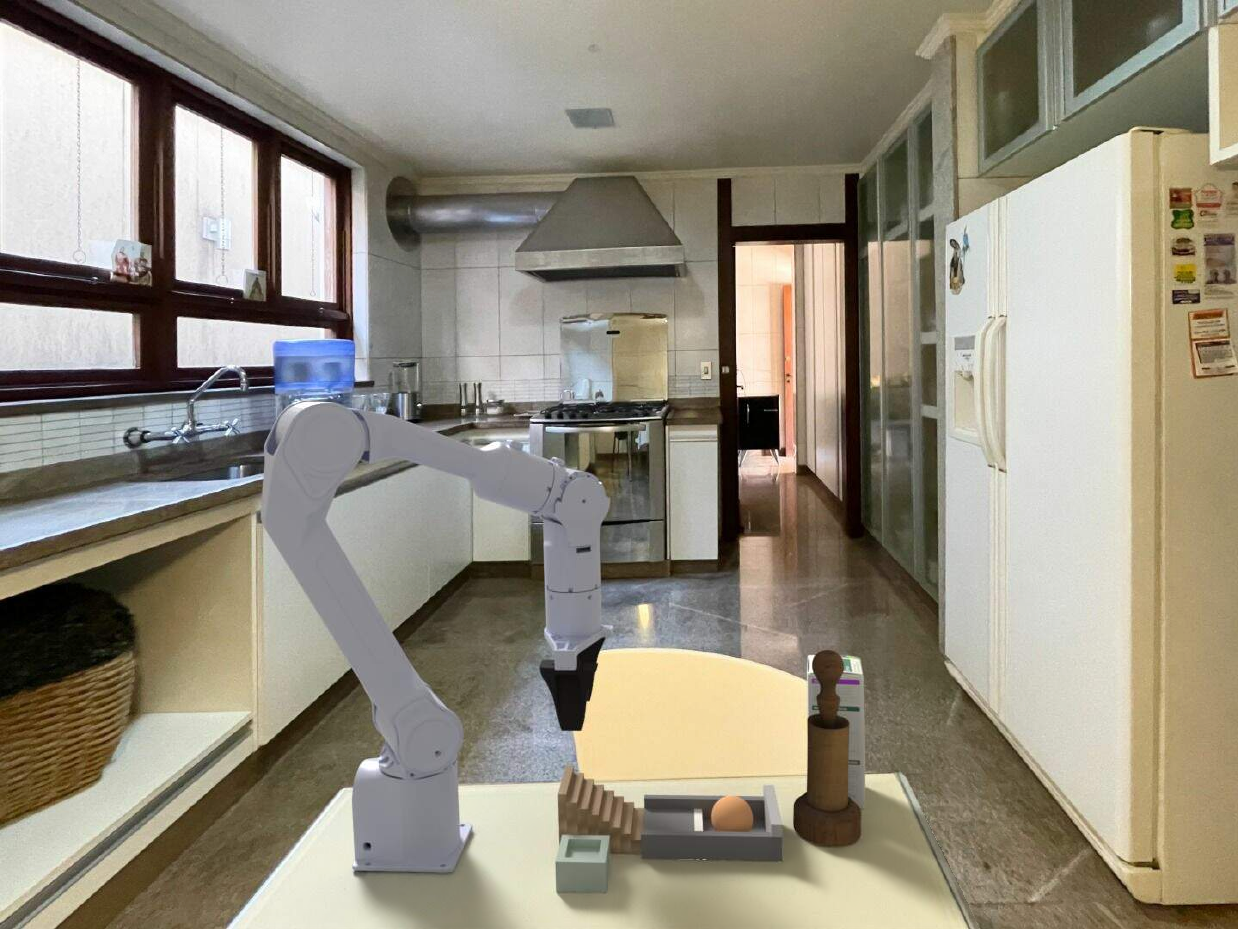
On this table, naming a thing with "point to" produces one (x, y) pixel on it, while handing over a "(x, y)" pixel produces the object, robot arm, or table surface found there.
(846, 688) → the syrup box
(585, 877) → the hollow square container
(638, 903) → the table surface
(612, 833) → the staircase
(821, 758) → the mortar and pestle
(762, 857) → the lane
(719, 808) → the ball
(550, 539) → the robot arm
